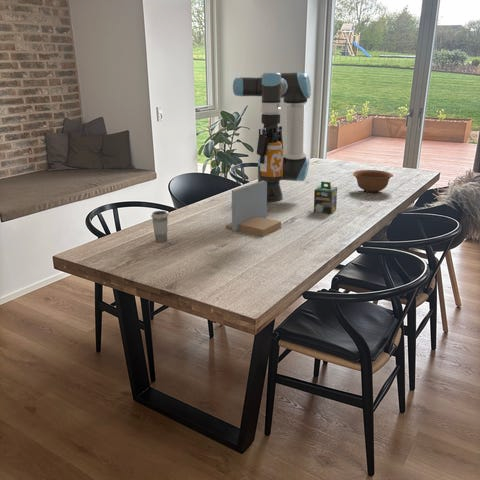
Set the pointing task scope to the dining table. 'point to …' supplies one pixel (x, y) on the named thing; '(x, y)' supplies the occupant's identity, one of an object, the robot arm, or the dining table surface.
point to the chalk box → (325, 198)
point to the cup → (160, 225)
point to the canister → (274, 160)
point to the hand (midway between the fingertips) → (269, 169)
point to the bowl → (372, 180)
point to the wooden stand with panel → (252, 210)
